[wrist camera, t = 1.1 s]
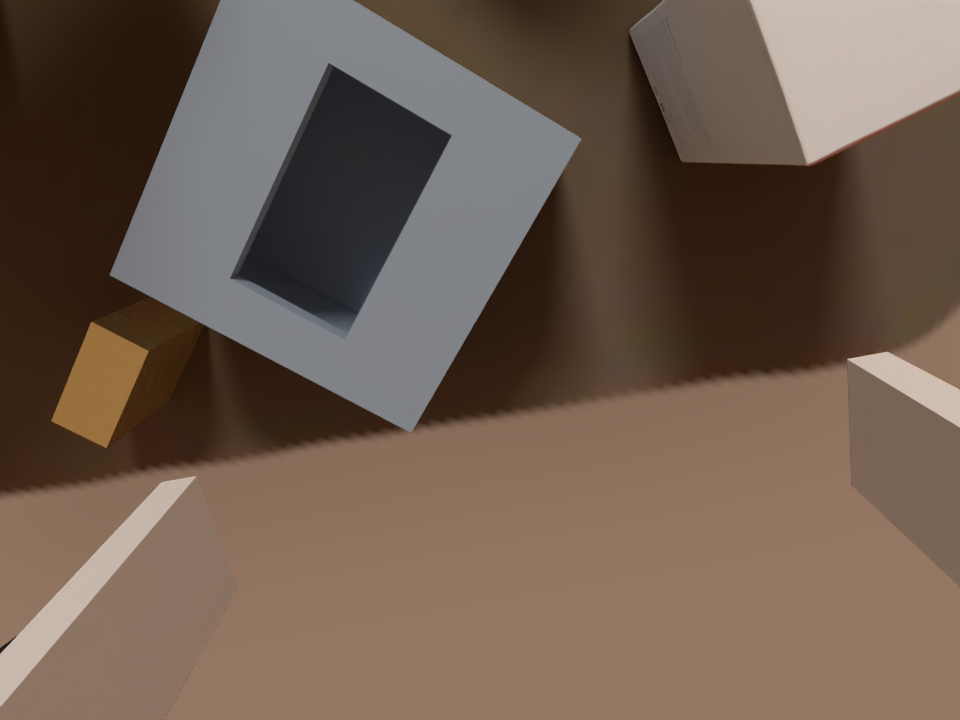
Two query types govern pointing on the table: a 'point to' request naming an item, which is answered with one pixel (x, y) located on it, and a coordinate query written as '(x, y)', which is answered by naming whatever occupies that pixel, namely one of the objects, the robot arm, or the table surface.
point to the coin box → (339, 198)
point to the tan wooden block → (126, 370)
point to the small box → (794, 73)
